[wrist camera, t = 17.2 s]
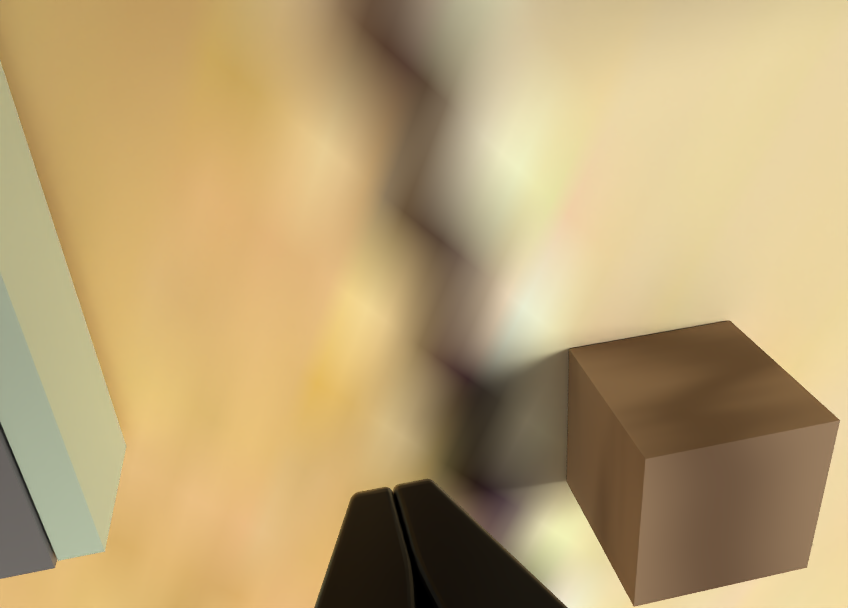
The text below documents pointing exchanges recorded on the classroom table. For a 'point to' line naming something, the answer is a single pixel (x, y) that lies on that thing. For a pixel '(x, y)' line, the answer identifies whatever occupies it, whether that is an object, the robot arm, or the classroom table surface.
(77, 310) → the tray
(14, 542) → the block
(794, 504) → the brown wooden cube
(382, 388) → the classroom table surface
